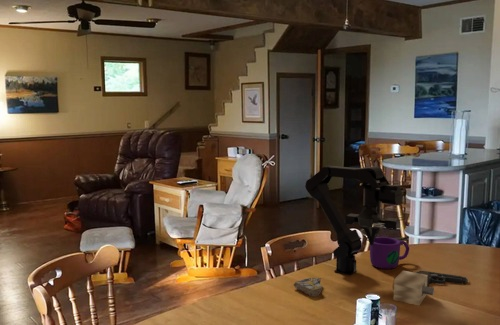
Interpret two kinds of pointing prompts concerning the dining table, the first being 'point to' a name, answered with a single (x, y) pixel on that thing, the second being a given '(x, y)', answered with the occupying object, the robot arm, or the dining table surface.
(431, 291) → the pin
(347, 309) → the dining table surface
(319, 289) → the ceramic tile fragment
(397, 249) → the mug
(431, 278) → the handgun
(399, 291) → the block
